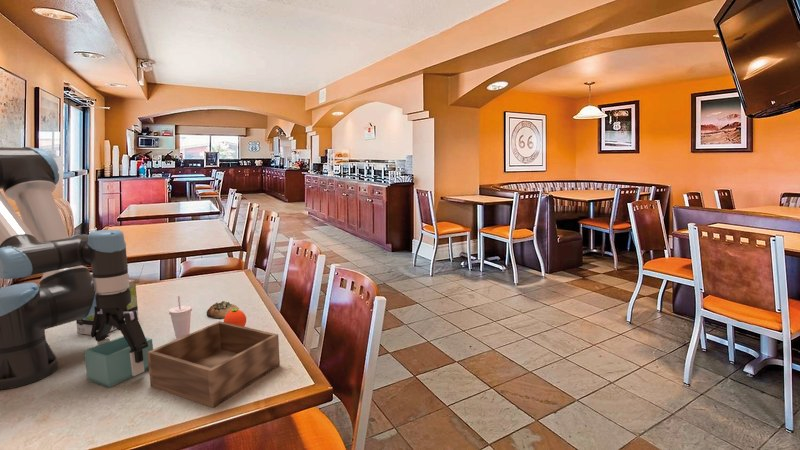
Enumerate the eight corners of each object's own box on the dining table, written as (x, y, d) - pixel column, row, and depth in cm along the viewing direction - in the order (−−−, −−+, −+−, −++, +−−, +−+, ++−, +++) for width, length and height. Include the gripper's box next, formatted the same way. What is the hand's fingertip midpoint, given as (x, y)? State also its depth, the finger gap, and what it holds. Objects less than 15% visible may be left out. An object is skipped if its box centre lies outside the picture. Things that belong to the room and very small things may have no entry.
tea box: (103, 336, 136) (97, 292, 134) (76, 334, 138) (71, 290, 136) (140, 319, 151) (135, 278, 149) (115, 317, 153) (111, 277, 151)
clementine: (224, 327, 143) (222, 307, 142) (245, 323, 146) (244, 304, 145) (224, 336, 136) (223, 315, 135) (247, 332, 139) (246, 311, 138)
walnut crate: (213, 407, 97) (210, 370, 96) (150, 386, 107) (147, 352, 105) (279, 365, 117) (278, 334, 115) (221, 350, 126) (219, 321, 125)
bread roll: (203, 312, 157) (204, 299, 157) (234, 309, 164) (235, 297, 164) (210, 322, 149) (211, 308, 148) (242, 319, 155) (244, 306, 155)
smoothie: (169, 343, 131) (165, 299, 129) (174, 335, 137) (170, 293, 135) (192, 341, 133) (188, 297, 130) (195, 333, 139) (192, 291, 137)
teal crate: (109, 387, 106) (105, 357, 105) (87, 379, 110) (83, 350, 108) (154, 366, 117) (152, 338, 115) (133, 360, 120) (130, 333, 119)
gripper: (158, 292, 108) (166, 371, 111) (99, 281, 118) (108, 353, 122) (128, 301, 101) (138, 385, 104) (68, 288, 112) (78, 364, 115)
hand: (121, 368), depth 113 cm, fingers open, 13 cm apart
